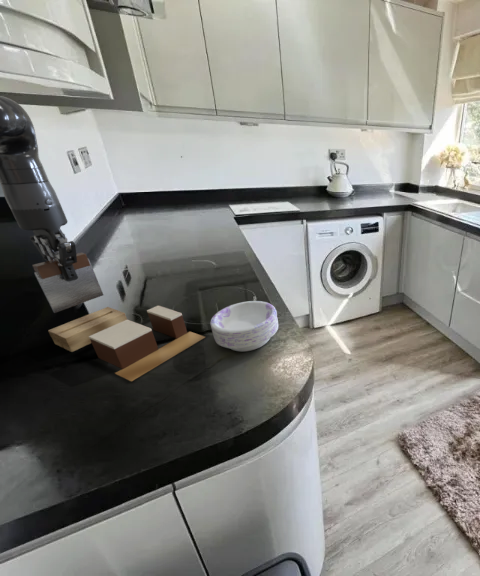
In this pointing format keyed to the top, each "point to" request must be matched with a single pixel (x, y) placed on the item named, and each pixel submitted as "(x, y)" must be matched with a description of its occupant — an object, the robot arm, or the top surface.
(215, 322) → the paper bowls
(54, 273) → the cake cutter
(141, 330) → the loaf cake
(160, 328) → the cake slice
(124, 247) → the top surface
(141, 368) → the cutting board
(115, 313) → the knife block
